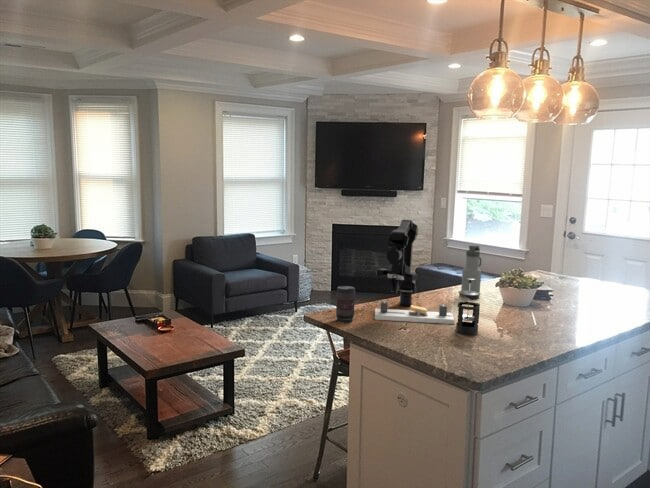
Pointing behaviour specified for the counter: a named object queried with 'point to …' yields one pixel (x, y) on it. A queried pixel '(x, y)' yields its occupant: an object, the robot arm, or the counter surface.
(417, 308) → the tan block
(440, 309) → the slider
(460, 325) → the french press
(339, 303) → the camera lens
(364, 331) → the counter surface
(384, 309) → the slider
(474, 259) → the water bottle
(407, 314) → the panel
